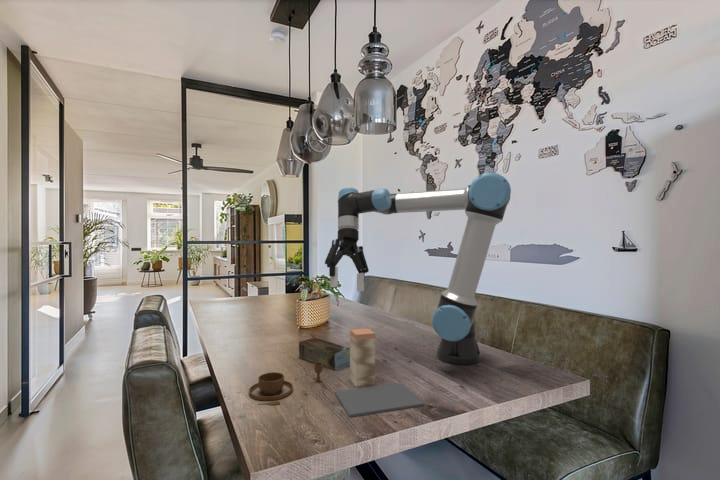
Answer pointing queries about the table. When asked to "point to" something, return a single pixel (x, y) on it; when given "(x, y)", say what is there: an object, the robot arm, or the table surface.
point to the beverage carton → (324, 353)
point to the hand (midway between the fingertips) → (347, 289)
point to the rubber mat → (377, 399)
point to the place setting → (276, 385)
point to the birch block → (362, 357)
